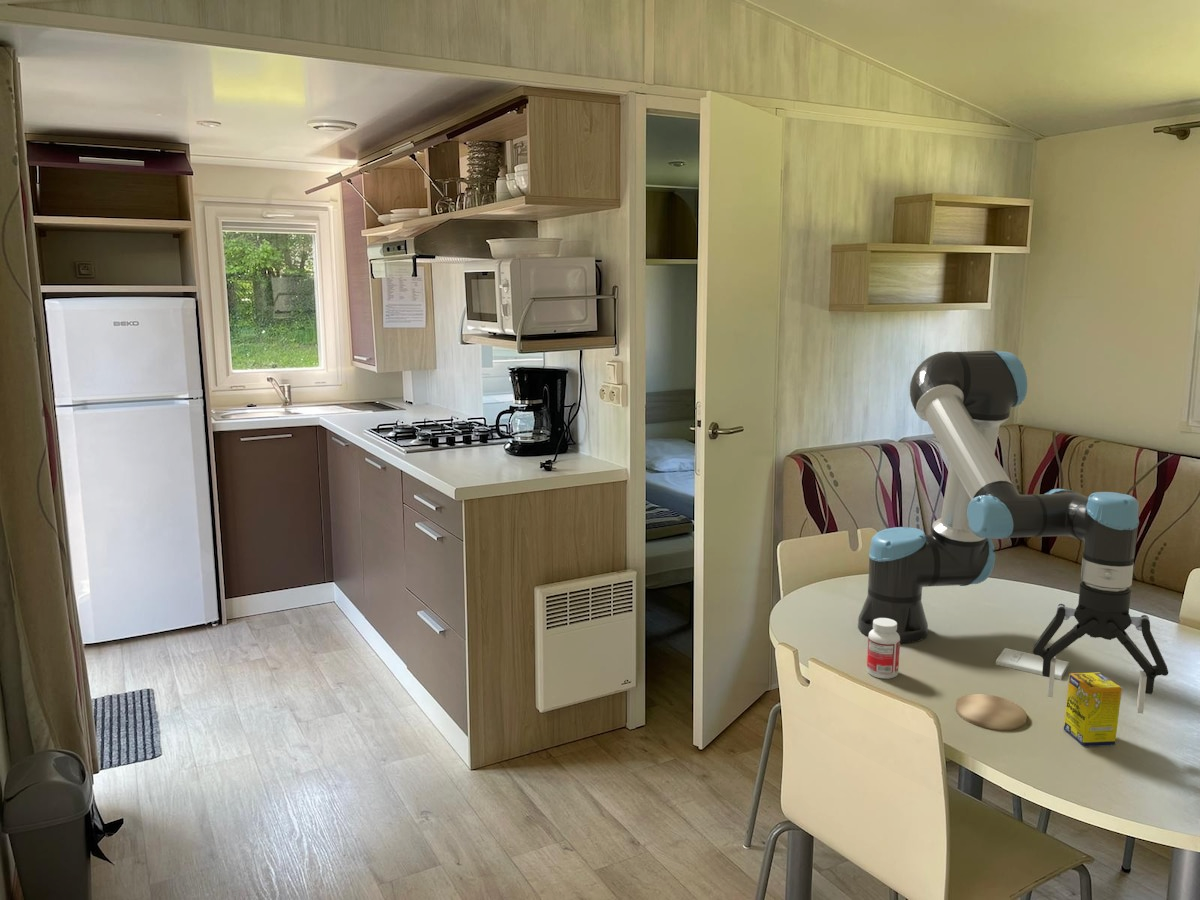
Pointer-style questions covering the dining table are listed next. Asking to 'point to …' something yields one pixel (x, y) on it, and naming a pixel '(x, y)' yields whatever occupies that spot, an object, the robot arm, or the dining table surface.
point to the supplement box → (1092, 709)
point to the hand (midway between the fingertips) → (1094, 702)
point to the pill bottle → (883, 649)
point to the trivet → (991, 712)
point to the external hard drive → (1029, 662)
